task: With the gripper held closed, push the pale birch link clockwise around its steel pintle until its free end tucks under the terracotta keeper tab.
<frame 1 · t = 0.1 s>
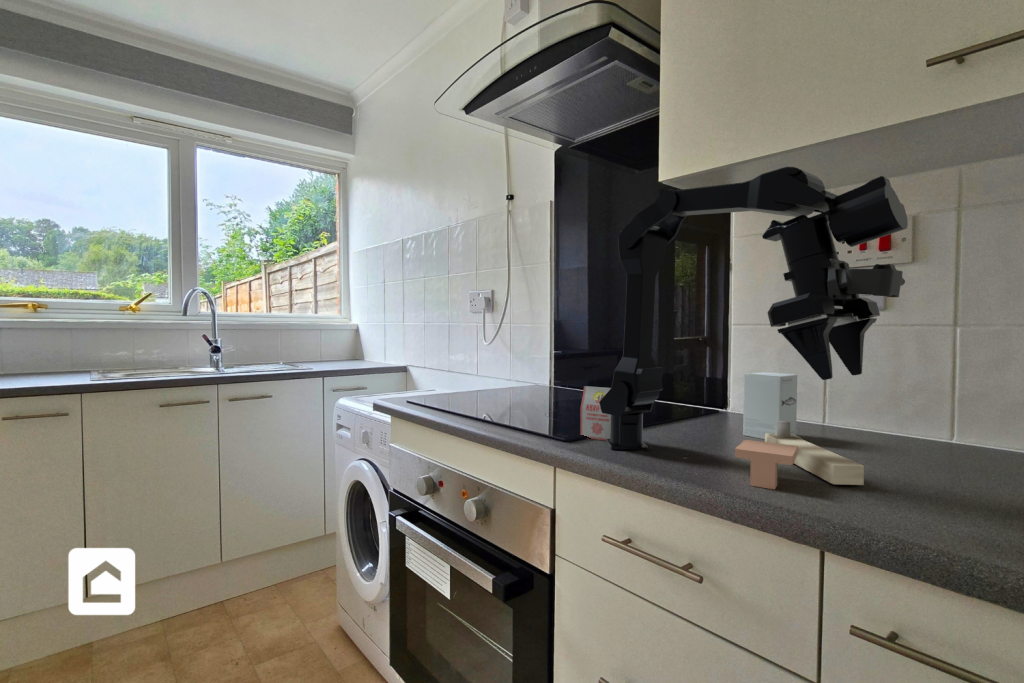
hand: (842, 377, 63), 15 cm above the countertop, tool pointing down, fingers open, 9 cm apart
supplement box: (769, 437, 99), on the countertop
link: (807, 447, 77), point 3 cm above the countertop, hinge at 0.0°
keeper: (766, 480, 70), on the countertop
white printed box: (599, 438, 98), on the countertop
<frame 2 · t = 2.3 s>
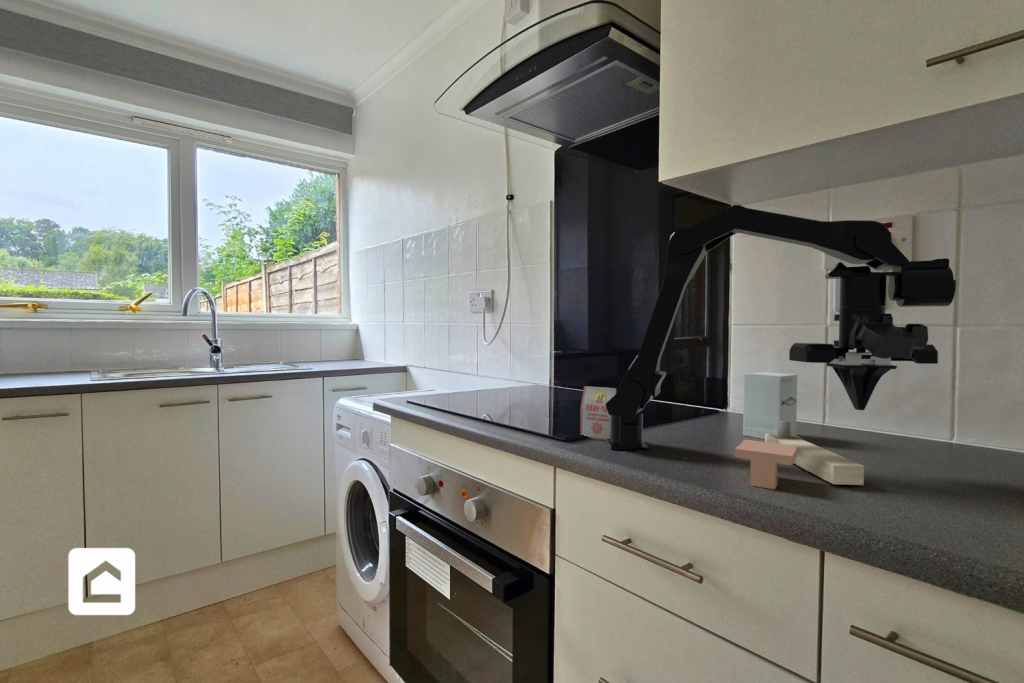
hand: (859, 409, 76), 9 cm above the countertop, tool pointing down, fingers closed
nothing on the countertop moved.
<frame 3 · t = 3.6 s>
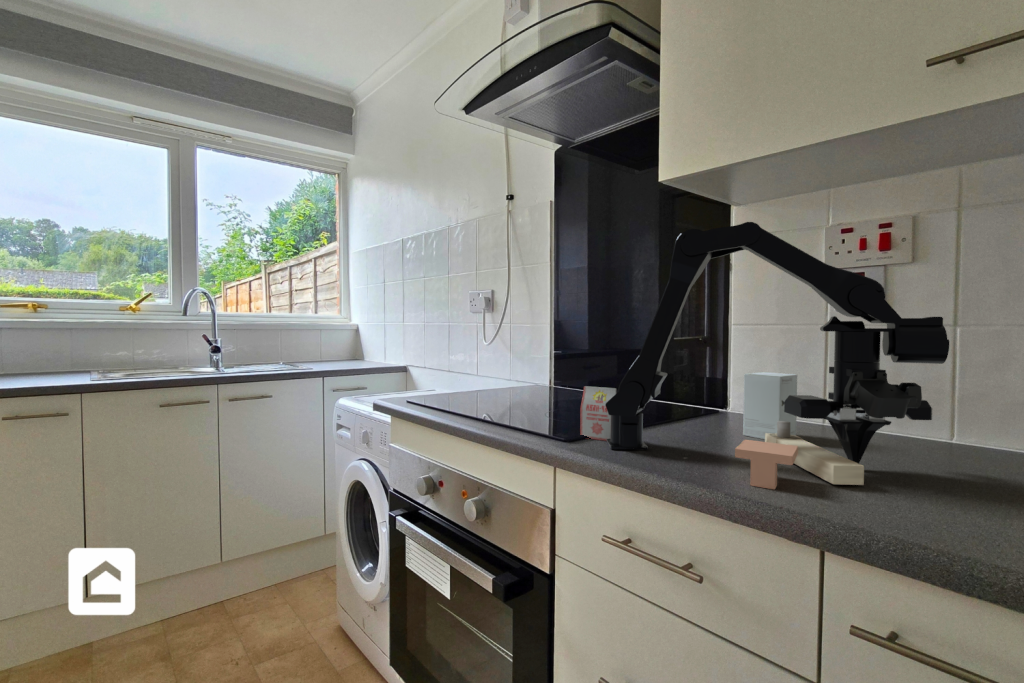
hand: (854, 463, 76), 1 cm above the countertop, tool pointing down, fingers closed
nothing on the countertop moved.
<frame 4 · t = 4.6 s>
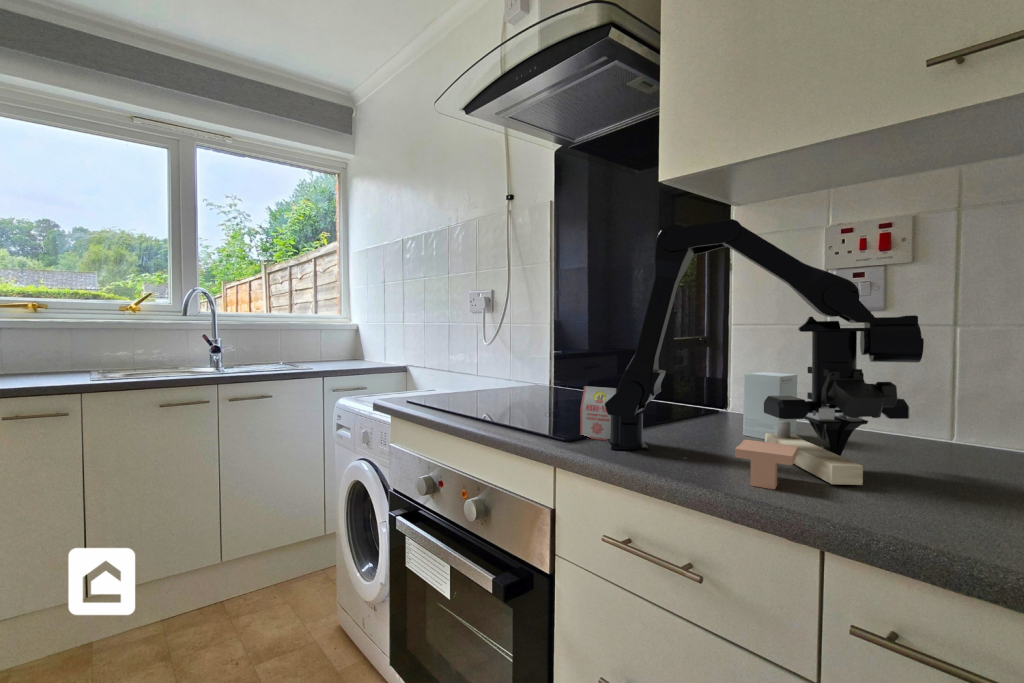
hand: (833, 462, 76), 1 cm above the countertop, tool pointing down, fingers closed
link: (807, 447, 77), point 3 cm above the countertop, hinge at -0.5°, touching gripper
everything else where it was.
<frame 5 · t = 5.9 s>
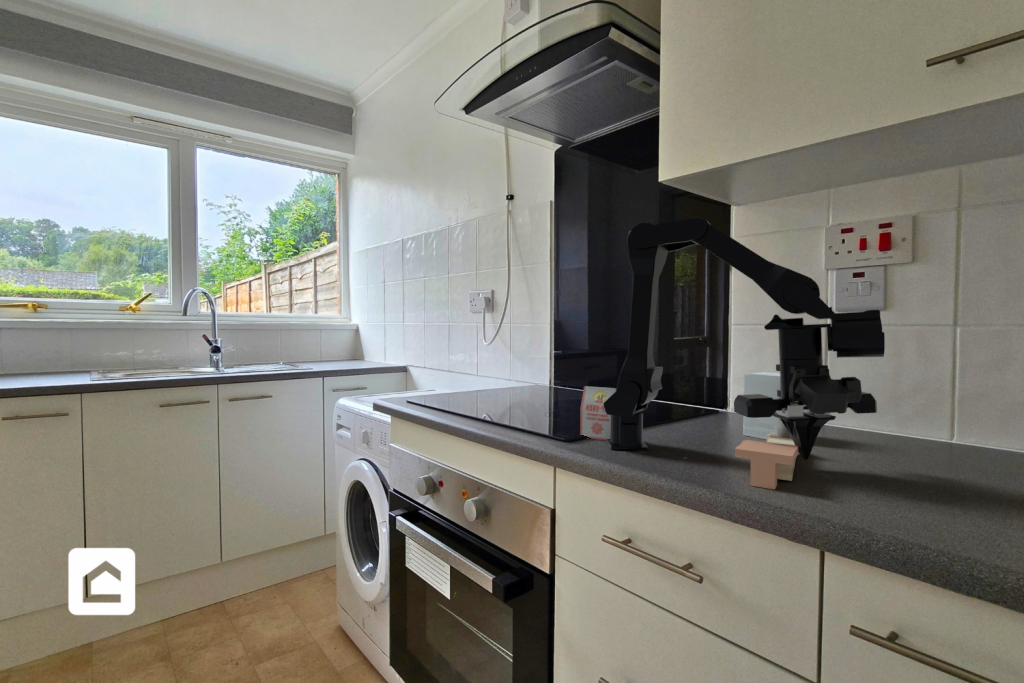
hand: (804, 459, 76), 1 cm above the countertop, tool pointing down, fingers closed
link: (780, 445, 79), point 3 cm above the countertop, hinge at -28.6°, touching gripper
everything else where it was.
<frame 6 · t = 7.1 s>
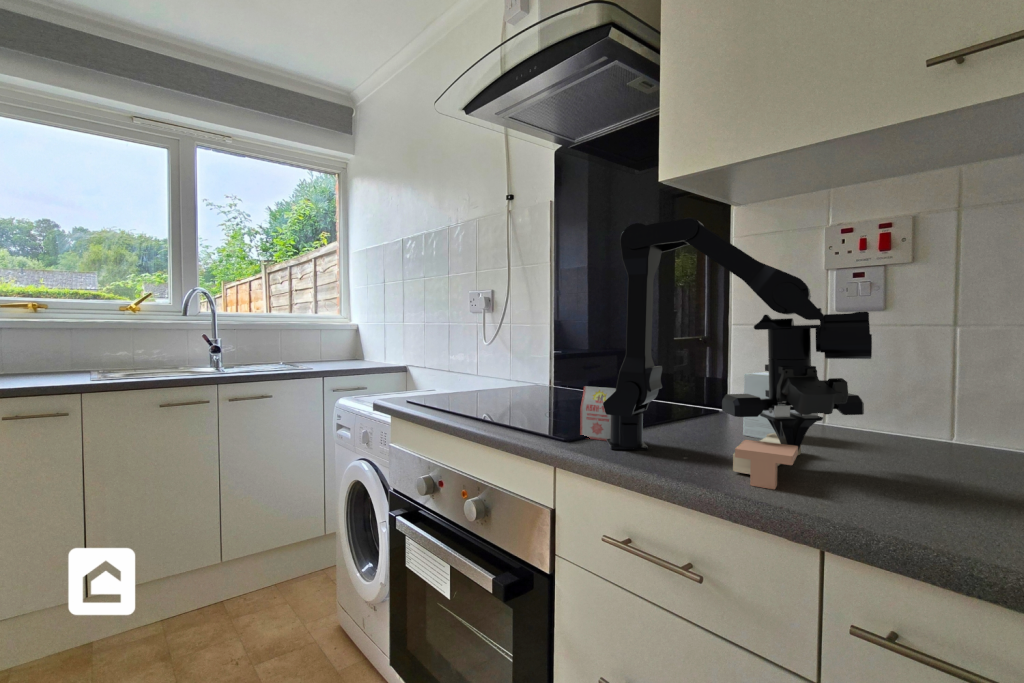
hand: (791, 459, 76), 1 cm above the countertop, tool pointing down, fingers closed
link: (769, 444, 80), point 3 cm above the countertop, hinge at -40.4°, touching gripper
everything else where it was.
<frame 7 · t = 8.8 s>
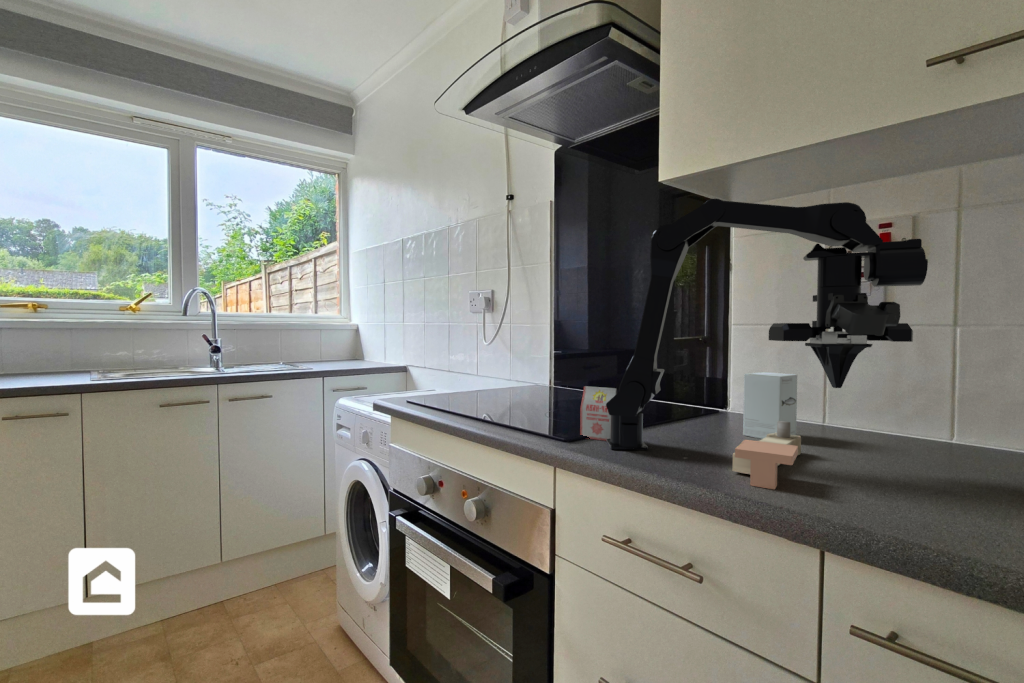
hand: (836, 387, 77), 12 cm above the countertop, tool pointing down, fingers closed
link: (769, 444, 80), point 3 cm above the countertop, hinge at -40.6°
everything else where it was.
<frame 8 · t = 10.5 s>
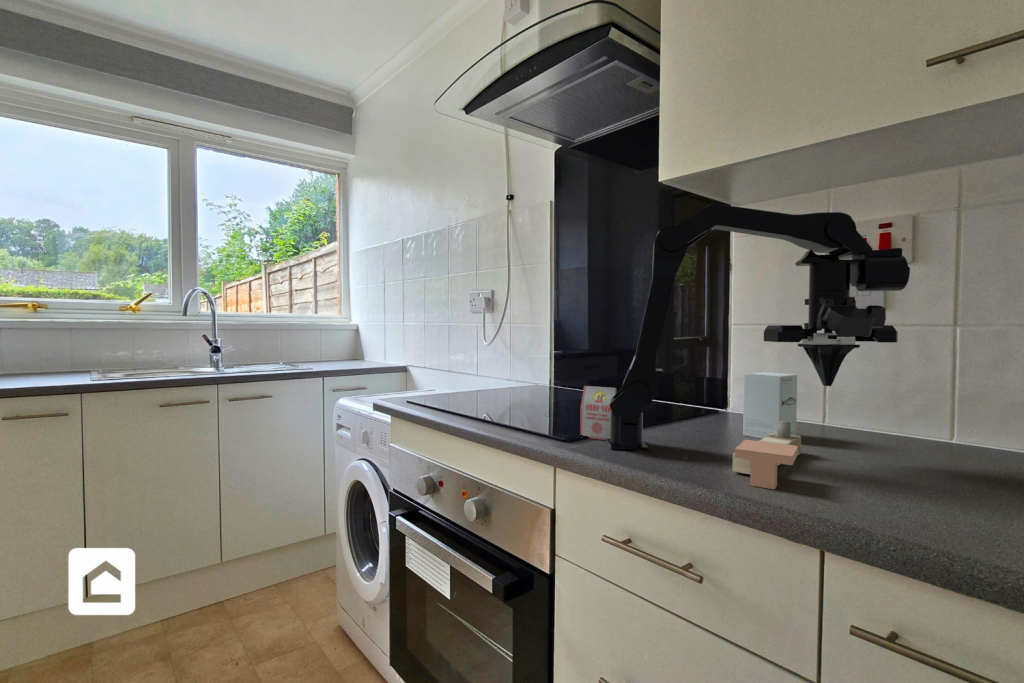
hand: (827, 385, 83), 12 cm above the countertop, tool pointing down, fingers closed
white printed box: (599, 438, 98), on the countertop, touching arm
everything else where it was.
at the end: link at -41° (first picture: +0°); supplement box moved 0.2 cm from its start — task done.
